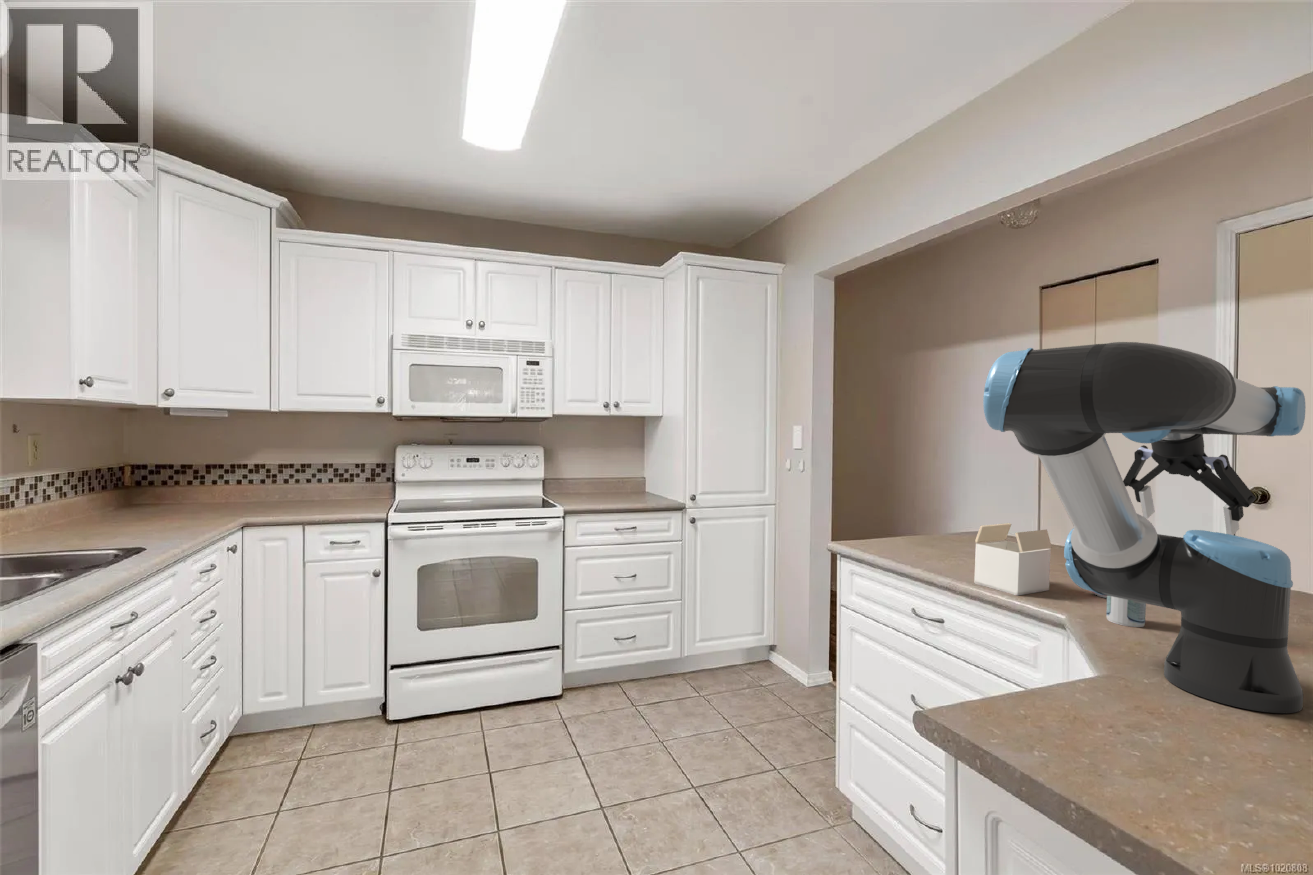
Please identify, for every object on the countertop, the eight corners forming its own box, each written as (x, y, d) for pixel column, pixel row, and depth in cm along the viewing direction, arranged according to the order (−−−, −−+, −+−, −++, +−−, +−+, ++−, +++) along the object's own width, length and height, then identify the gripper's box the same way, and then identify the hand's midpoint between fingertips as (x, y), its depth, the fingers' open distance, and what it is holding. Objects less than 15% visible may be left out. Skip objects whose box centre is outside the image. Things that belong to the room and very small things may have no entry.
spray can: (1115, 614, 125) (1119, 521, 125) (1152, 624, 119) (1156, 526, 119) (1098, 619, 122) (1102, 523, 122) (1136, 629, 116) (1140, 528, 116)
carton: (1017, 595, 138) (1019, 553, 138) (974, 583, 148) (975, 543, 148) (1048, 590, 143) (1050, 549, 143) (1005, 578, 153) (1006, 540, 153)
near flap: (1049, 548, 143) (1052, 548, 142) (1020, 552, 138) (1022, 551, 137) (1044, 529, 144) (1046, 529, 143) (1015, 532, 139) (1017, 532, 138)
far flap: (976, 542, 148) (974, 541, 148) (1005, 539, 153) (1003, 538, 153) (982, 526, 146) (980, 525, 147) (1011, 524, 151) (1009, 523, 152)
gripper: (1274, 428, 102) (1283, 529, 108) (1112, 415, 124) (1128, 499, 130) (1253, 450, 99) (1263, 551, 106) (1092, 432, 122) (1108, 517, 128)
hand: (1188, 523), depth 118 cm, fingers open, 13 cm apart
